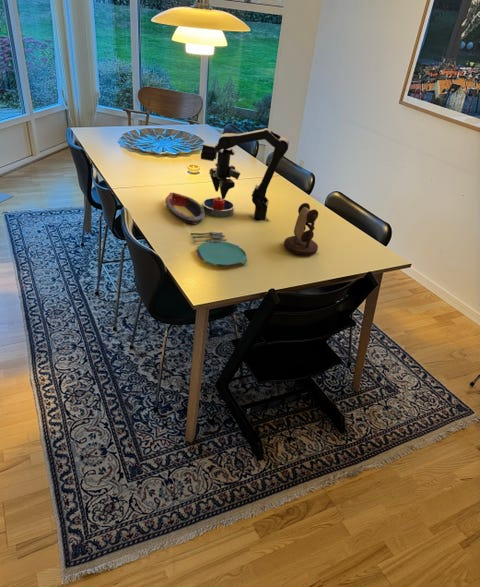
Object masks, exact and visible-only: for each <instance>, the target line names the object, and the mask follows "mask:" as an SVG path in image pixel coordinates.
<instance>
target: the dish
mask: <svg viewBox="0 0 480 587" xmlns="http://www.w3.org/2000/svg"><path fill="white" fill-rule="evenodd" d="M164 200H165V205H166V208H167V210H168V211H169V213H170V214H171V215H172V216H173V217H175V218H176V219H177V220H179V221H180V222H183V223H186V224H189V225H197V224H200V223H202V221H203V219H204V217H205V215H206V214H205V212H204V209H203V208H202V205H201V204H200V203H199V202H198V201H197V200H195V199H194V198H192V197H189V196H187V195H185V194H180V193H176V192H174V191H173V192H170V193H168V195H167V196H166V197H165V199H164ZM175 206H177V207H183V208H185V209H187V211H189V212H190V213H191V214H192V215H193V216H189V215H187V214H184V213H183V212H181V211H179V210H178V209H176V207H175Z"/></svg>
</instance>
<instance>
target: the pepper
mask: <svg viewBox="0 0 480 587" xmlns="http://www.w3.org/2000/svg"><path fill="white" fill-rule="evenodd" d="M214 198H215V199H214V200H213V209H215V210H224V202H225V201H224V199H222V197H221V196H218V197H214Z"/></svg>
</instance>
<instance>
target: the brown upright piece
mask: <svg viewBox="0 0 480 587" xmlns="http://www.w3.org/2000/svg"><path fill="white" fill-rule="evenodd" d="M297 212H298V215H297V219H296V221H295V226H294V229H293V235H291V236H288V237H286V238H285V239H284V241H283V245H284V247H285V249H287V250H288V251H290V252H293V253H294V254H295V256H298V254H300V255H313V254H316V253H317V252H318V249H319V247H318V246H319V245H318V244H317V242H316V241H314V240H313V238H314V234H315V233H314V231H315V228H316V227H315V223H316V220H317V219H318V217H319V211H318V210H317V209H311V206H310V204H309V203H307V202H303V203H301V204H300V205H299V207H298V209H297ZM306 226H307V227H306ZM306 228H308V229H307V230H306Z"/></svg>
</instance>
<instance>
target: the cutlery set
mask: <svg viewBox="0 0 480 587" xmlns="http://www.w3.org/2000/svg"><path fill="white" fill-rule="evenodd" d="M205 235H206V236H205ZM207 235H210V236H207ZM190 236H192V237H191V238H192V239H204V240H194V241H193V242H194V244H195V243H199V242H200V243H201V242H202V243H201V244H199V245H197V246H196V248H197V249H196V253H197V256H198V257H199V259H200V260H202V261H204V263H205V264H206V265H208V266H211V267H214V266H218V267H235V266H238V265H241V264H243V265H245V264H246V263H247V261H248V256H247V254H246V251H245V250H244V249H243V248H241V246H239V245H237V244H235V243H232V242H228V239H224V238H226V236H225V235H223V232H219V231H217V232H216V231H209V232H190Z"/></svg>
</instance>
